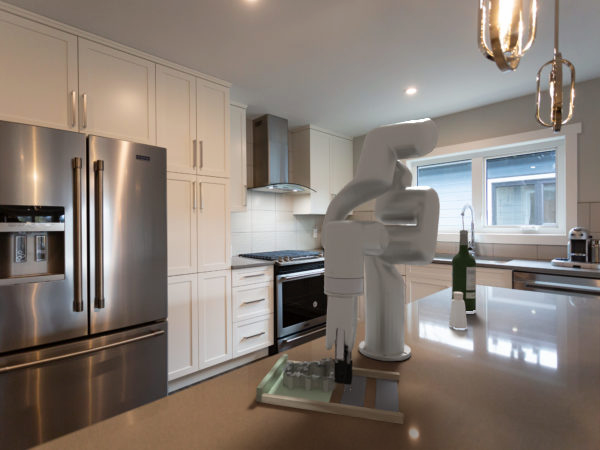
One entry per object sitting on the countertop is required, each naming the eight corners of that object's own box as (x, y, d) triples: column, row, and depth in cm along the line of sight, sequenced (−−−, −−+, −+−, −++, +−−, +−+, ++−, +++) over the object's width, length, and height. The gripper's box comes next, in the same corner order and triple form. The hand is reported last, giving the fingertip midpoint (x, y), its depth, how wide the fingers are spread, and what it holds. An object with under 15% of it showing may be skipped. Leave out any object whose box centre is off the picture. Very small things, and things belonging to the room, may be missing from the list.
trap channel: (283, 364, 74) (283, 353, 74) (399, 378, 67) (399, 366, 67) (256, 401, 58) (256, 387, 58) (403, 424, 52) (403, 408, 52)
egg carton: (338, 377, 68) (338, 357, 68) (334, 395, 60) (334, 373, 60) (288, 371, 70) (289, 352, 70) (279, 388, 63) (279, 367, 63)
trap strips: (347, 375, 69) (347, 374, 69) (396, 381, 66) (396, 380, 66) (338, 411, 55) (338, 410, 55) (399, 421, 53) (399, 419, 53)
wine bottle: (475, 316, 114) (475, 230, 114) (450, 312, 118) (450, 230, 118) (476, 311, 121) (476, 230, 121) (452, 308, 125) (453, 230, 125)
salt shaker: (453, 330, 98) (454, 294, 98) (445, 325, 104) (445, 290, 104) (471, 330, 98) (471, 294, 98) (462, 325, 104) (462, 290, 104)
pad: (286, 368, 72) (286, 367, 72) (338, 374, 69) (338, 373, 69) (263, 400, 59) (263, 399, 59) (326, 410, 56) (326, 408, 56)
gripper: (330, 278, 70) (330, 363, 70) (316, 292, 56) (316, 399, 56) (366, 280, 68) (365, 367, 68) (361, 294, 54) (360, 405, 54)
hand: (343, 381), depth 62 cm, fingers closed
